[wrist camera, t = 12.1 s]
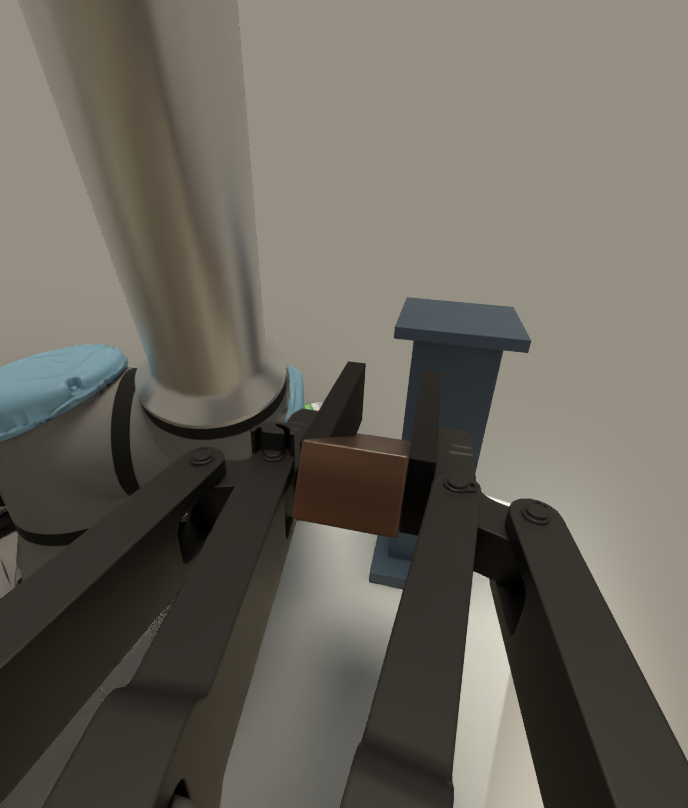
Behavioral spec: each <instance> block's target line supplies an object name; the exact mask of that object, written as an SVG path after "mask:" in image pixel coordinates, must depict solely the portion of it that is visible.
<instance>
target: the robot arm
mask: <svg viewBox="0 0 688 808" xmlns="http://www.w3.org/2000/svg"><path fill="white" fill-rule="evenodd" d="M18 2H19V5H20V7H21V10H22V13H23V16H24V19H25V21H26V24H27V27H28V30H29V32H30V35H31V38H32V41H33V44H34V46H35V49H36V52H37V54H38V57H39V60H40V63H41V66H42V68H43V71H44V74H45V77H46V80H47V82H48V85H49V87H50V91H51V93H52V96H53V99H54V102H55V104H56V107H57V110H58V113H59V115H60V118H61V121H62V124H63V126H64V129H65V132H66V135H67V138H68V140H69V143H70V146H71V149H72V151H73V154H74V157H75V160H76V163H77V165H78V168H79V171H80V174H81V176H82V179H83V182H84V185H85V187H86V190H87V193H88V196H89V198H90V201H91V204H92V207H93V210H94V212H95V215H96V218H97V221H98V223H99V226H100V229H101V231H102V235H103V237H104V240H105V243H106V245H107V248H108V251H109V254H110V257H111V259H112V262H113V265H114V268H115V270H116V273H117V276H118V279H119V282H120V284H121V287H122V290H123V293H124V295H125V298H126V301H127V303H128V306H129V309H130V312H131V314H132V317H133V320H134V323H135V326H136V329H137V331H138V334H139V337H140V340H141V342H142V345H143V348H144V351H145V353H146V355H145V357H143V359H142V360H141V362H140V364H139V366H138V368H129V367H127V364H128V359H127V358H126V357H125V356H124V354H123V353H122V351H121V350H120V349H118V348H116V347H110V346H109V345H101V344H91V345H79V346H72V347H66V348H61V349H56V350H51V351H47V352H43V353H39V354H36V355H33V356H30V357H27V358H23V359H21V360H18V361H15V362H13V363H10V364H8V365H6V366H3V367H1V368H0V495H1V497H2V499H3V501H4V503H5V506H6V508H7V510H8V512H9V514H10V516H11V519H12V521H13V523H14V525H15V528H16V530H17V532H18V545H17V559H16V564H17V568H16V573H15V588H14V589H13V590H11V591H10V592H9V593H8V594H6V595H5V596H4V597H2V598H1V599H0V803H1V802H2V801H3V800H4V799H5V798H6V797H7V796H8V794H9V793H10V792H11V791H12V790H13V789H14V787H15V786H16V785H17V784H18V783H19V781H20V780H21V779H22V778H23V777H24V776H25V774H26V773H27V772H28V771H29V770H30V768H31V767H32V766H33V765H34V764H35V762H36V761H37V760H38V759H39V758H40V756H41V755H42V754H43V753H44V752H45V750H46V749H47V748H48V747H49V746H50V744H51V743H52V742H53V741H54V740H55V738H56V737H57V736H58V735H59V734H60V732H61V731H62V730H63V729H64V728H65V727H66V725H67V724H68V723H69V722H70V721H71V719H72V718H73V717H74V716H75V715H76V713H77V712H78V711H79V710H80V709H81V707H82V706H83V705H84V704H85V703H86V701H87V700H88V699H89V698H90V697H91V695H92V694H93V693H94V692H95V691H96V689H97V688H98V687H99V686H100V685H101V683H102V682H103V681H104V680H105V679H106V677H107V676H108V675H109V674H110V673H111V672H112V670H113V669H114V668H115V667H116V666H117V664H118V663H119V662H120V661H121V660H122V658H123V657H124V656H125V655H126V654H127V652H128V651H129V650H130V649H131V648H132V646H133V645H134V644H135V643H136V642H137V640H138V639H139V638H140V637H141V636H142V634H143V633H144V632H145V631H146V630H147V628H148V627H149V626H150V625H151V624H152V623H153V621H154V620H155V619H156V618H157V617H158V615H159V614H160V613H161V612H162V611H163V609H164V608H165V607H166V606H167V605H168V603H169V602H170V601H171V600H172V599H173V597H174V596H175V595H176V594H177V593H178V594H177V596H176V598H175V600H174V602H173V604H172V606H171V607H170V609H169V611H168V613H167V615H166V617H165V619H164V621H163V623H162V624H161V626H160V628H159V630H158V632H157V634H156V636H155V638H154V640H153V641H152V643H151V645H150V647H149V649H148V651H147V653H146V655H145V657H144V658H143V660H142V662H141V664H140V666H139V668H138V670H137V672H136V674H135V675H134V677H133V678H132V680H131V681H130V683H129V684H127V685H126V686H125V687H121V688H117V689H114V690H113V691H112V692H111V693H110V694H108V695H107V696H106V697H105V699H104V700H103V702H102V703H101V705H100V706H99V708H98V709H97V711H96V712H95V714H94V716H93V718H92V719H91V721H90V723H89V725H88V726H87V728H86V730H85V732H84V733H83V735H82V737H81V739H80V740H79V742H78V744H77V746H76V748H75V749H74V751H73V753H72V755H71V756H70V758H69V760H68V762H67V763H66V765H65V767H64V769H63V770H62V772H61V774H60V776H59V778H58V779H57V781H56V783H55V785H54V786H53V788H52V790H51V792H50V793H49V795H48V797H47V799H46V800H45V802H44V804H43V806H42V807H41V808H219V807H220V801H221V792H222V783H223V778H224V773H225V769H226V765H227V761H228V758H229V754H230V751H231V747H232V744H233V740H234V737H235V733H236V730H237V726H238V723H239V719H240V716H241V713H242V709H243V706H244V702H245V699H246V695H247V692H248V688H249V685H250V681H251V678H252V674H253V671H254V667H255V664H256V660H257V657H258V653H259V650H260V646H261V643H262V640H263V636H264V633H265V629H266V626H267V622H268V619H269V615H270V612H271V608H272V605H273V601H274V598H275V594H276V591H277V587H278V584H279V580H280V577H281V573H282V570H283V567H284V563H285V560H286V556H287V553H288V549H289V546H290V542H291V539H292V535H293V532H294V528H295V525H296V519H293V518H292V509H293V502H294V496H295V489H296V482H297V475H298V469H299V462H300V455H301V448H302V442H303V440H306V439H319V438H332V437H344V436H356V434H357V431H358V429H359V426H360V423H361V421H362V411H363V396H364V382H365V367H366V364H365V363H357V362H348V363H347V364H346V366H345V368H344V370H343V371H342V373H341V374H340V376H339V378H338V379H337V381H336V383H335V384H334V386H333V387H332V389H331V391H330V393H329V394H328V396H327V397H326V399H325V401H324V402H323V404H322V406H321V407H320V409H319V411H317V410H310V409H304V388H303V378H302V373H301V372H300V370H299V369H297V368H295V367H290V366H289V365H286V363H285V360H284V357H283V355H282V352H281V351H280V349H279V348H278V347H277V346H276V345H275V344H274V343H273V342H272V341H271V340H270V339H269V338H267V337H266V336H265V331H264V320H263V307H262V295H261V283H260V271H259V260H258V259H259V258H258V246H257V235H256V222H255V210H254V197H253V185H252V173H251V161H250V150H249V137H248V125H247V113H246V102H245V101H246V100H245V88H244V78H243V77H244V76H243V65H242V51H241V40H240V27H239V15H238V3H237V0H18ZM440 389H441V372H433V371H424V370H423V371H422V378H421V384H420V390H419V397H418V403H417V409H416V416H415V422H414V428H413V435H412V441H411V448H410V452H411V453H410V459H409V467H408V474H407V482H406V489H405V497H404V504H403V511H402V516H401V522H400V529H399V532H400V533H405V534H411V535H416V536H418V538H417V542H416V545H415V549H414V553H413V556H412V560H411V564H410V567H409V571H408V574H407V578H406V582H405V585H404V589H403V593H402V596H401V600H400V603H399V607H398V611H397V614H396V618H395V622H394V625H393V629H392V633H391V636H390V640H389V643H388V647H387V651H386V654H385V658H384V662H383V665H382V669H381V673H380V676H379V680H378V683H377V687H376V691H375V694H374V698H373V702H372V705H371V709H370V712H369V716H368V720H367V723H366V727H365V730H364V734H363V737H362V740H361V742H360V743H359V745H358V747H357V750H356V753H355V755H354V759H353V762H352V765H351V769H350V772H349V776H348V779H347V783H346V786H345V790H344V793H343V797H342V800H341V804H340V808H453V802H454V787H453V782H452V771H453V760H454V751H455V741H456V731H457V722H458V712H459V702H460V693H461V683H462V673H463V664H464V654H465V644H466V635H467V625H468V615H469V606H470V596H471V586H472V577H473V571H475V572H477V573H479V574H481V575H483V576H485V577H487V578H489V579H490V587H491V591H492V595H493V600H494V604H495V608H496V612H497V616H498V620H499V624H500V628H501V632H502V637H503V641H504V645H505V649H506V653H507V657H508V661H509V665H510V669H511V673H512V678H513V682H514V686H515V690H516V694H517V698H518V702H519V706H520V710H521V714H522V719H523V722H524V727H525V731H526V735H527V739H528V743H529V747H530V751H531V756H532V759H533V763H534V768H535V772H536V776H537V780H538V784H539V788H540V793H541V796H542V801H543V805H544V808H688V761H687V759H686V757H685V755H684V753H683V751H682V749H681V747H680V746H679V743H678V741H677V740H676V738H675V736H674V734H673V732H672V730H671V728H670V726H669V724H668V722H667V720H666V718H665V716H664V714H663V712H662V710H661V708H660V707H659V704H658V702H657V700H656V699H655V697H654V695H653V693H652V691H651V689H650V687H649V685H648V683H647V681H646V679H645V677H644V675H643V673H642V671H641V669H640V667H639V666H638V664H637V662H636V660H635V658H634V656H633V654H632V652H631V650H630V648H629V646H628V644H627V642H626V640H625V638H624V636H623V634H622V632H621V631H620V629H619V627H618V625H617V623H616V621H615V619H614V617H613V615H612V613H611V611H610V609H609V607H608V605H607V603H606V601H605V600H604V598H603V596H602V594H601V592H600V590H599V588H598V586H597V584H596V582H595V580H594V578H593V576H592V574H591V572H590V570H589V568H588V566H587V565H586V562H585V561H584V559H583V557H582V555H581V553H580V551H579V549H578V547H577V545H576V543H575V541H574V539H573V537H572V535H571V533H570V532H569V529H568V528H567V526H566V524H565V522H564V520H563V518H562V517H561V515H560V514H559V513H558V511H556V510H555V509H553V508H552V507H551V506H549V505H548V504H545V503H543V502H540V501H538V500H533V499H518V500H516V501H513V502H512V503H511V505H510V506H509V507H508V506H506V505H503V504H500V503H498V502H496V501H494V500H491V499H490V498H488V497H487V496H485V495H484V494H483V493H482V492H481V488H480V485H479V484H478V483H477V482H476V476H475V465H474V457H473V456H474V453H473V442H472V438H471V437H470V436H469V434H468V433H467V432H466V431H465V430H458V429H451V428H444V427H439V408H440ZM186 513H187V515H186V516H185V517H184V518H183V516H184V515H185V514H186ZM182 518H183V519H182ZM0 559H1V558H0ZM1 562H2V560H1ZM2 565H3V568H4V572H5V575H6V577H7V579H8V581H9V578H8V575H7V571H6V569H5V567H4V564H3V562H2ZM9 583H10V581H9ZM10 585H11V584H10ZM178 591H179V592H178Z"/></svg>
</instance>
